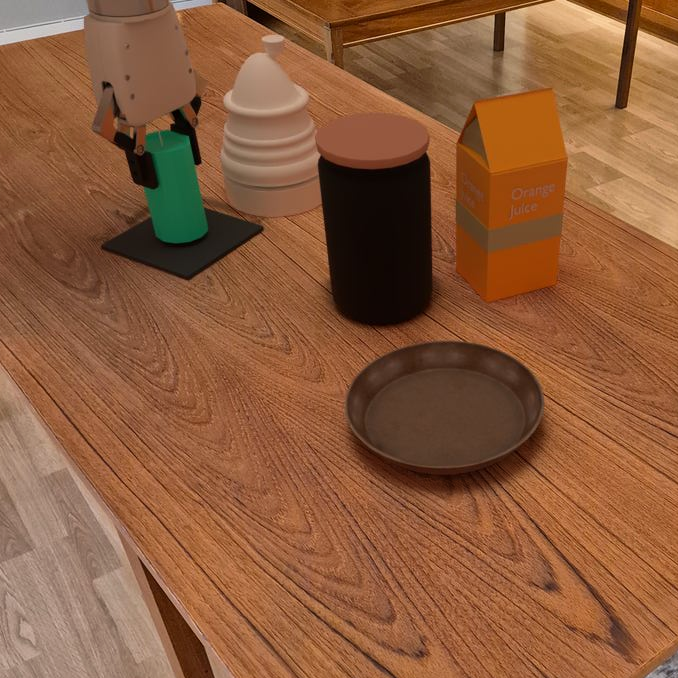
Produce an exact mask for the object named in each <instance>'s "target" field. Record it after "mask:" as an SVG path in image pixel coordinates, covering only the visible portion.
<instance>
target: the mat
mask: <svg viewBox="0 0 678 678" xmlns="http://www.w3.org/2000/svg"><path fill="white" fill-rule="evenodd" d="M204 211H205V215H206V220H207V225H208V231H207V232H206V233H205V234H204V235H203V236H202V237H201V238H198V239H196V240H193V241H191V242H184V243H170V242H164V241H162V240H161V239H159V238H158V237H156V234H155V230H154V226H153V222H152V218H151V216H149V217H147V218H145V219H144V220H141V221H140V222H139V223H137V224H135V225H133V226H131V227H130V228H128V229H126V230H124V231H123V232H121V233H119V234H118V235H116V236H114V237H112V238H111V239H108V240H107V241H105V242H103V243H102V244H101V245H100V247H101V250H103V251H106V252H109V253H112V254H115V255H118V256H120V257H123V258H126V259H129V260H131V261H134V262H137V263H140V264H142V265H145V266H148V267H151V268H154V269H156V270H159V271H161V272H164V273H168V274H171V275H172V276H175V277H179V278H181V279H184V280H187V281H190V280H192V278H194V277H195V276H198V274H200V273H201V272H203V271H205V270H206V269H208V268H209V267H210V266H212V265H214V264H215V263H217V262H218V261H220V260H221V259H223V258H224V257H226V256H227V255H228V254H230V253H232V252H233V251H234V250H236V249H238V248H239V247H241V246H242V245H243V244H246V243H247V242H248V241H250V240H252V239H253V238H255V237H256V236H258V235H259V234H261V233H263V231H265V226H263V225H261V224H257V223H254V222H252V221H248V220H246V219H242V218H239V217H236V216H232V215H229V214H227V213H223V212H220V211H217V210H214V209H210V208H208V207H205V206H204Z"/></svg>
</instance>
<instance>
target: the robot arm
mask: <svg viewBox="0 0 678 678" xmlns="http://www.w3.org/2000/svg"><path fill="white" fill-rule="evenodd" d="M86 4H87V8H88V13H89V14H86V15H85V16H83V34H84V36H83V37H84V45H85V55H86V61H87V66H88V72H89V74H90V75H89V77H90V81H91V86H92V91H93V95H94V98H95V102H96V106H97V110H96V113H95V115H94V118H93V122H92V124H91V130H92V132H93V133H95V134H96V135H98V136H100V137H101V138H103V139H105V140H106V141H108V142H109V143H111V144H113V145H114V146H115V147H117V148H118V149H119V150H120V151H124V154H125V159H126V161H127V166H128V168H129V173H130V176H131V179H132V182H133V183H134V184H135V185H137V186H140V187H143V188H144V187H146V188H150V189H153V190H154V189H156V188H158V185H159V183H158V179H157V175H156V171H155V167H154V163H153V159H152V155H151V153H150V152H147V151H145V142H146V134H147V125H148V124H149V123H151V122H154V121H156V120H158V119H160V118H161V117H164V116H166V115H168V116H170V118H171V120H172V121H173V122H171V123H169V126H170V128H169V130H171V131H174V132H176V133H179V134H183V135H186V136H189V140H190V144H191V149H192V154H193V159H194V163H195V167H196V166H197V167H198V166H201V164H203V161H202V156H201V150H200V145H199V141H198V136H197V132H196V128H197V127H198V126H199V124H200V120H199V118H198V116H199V113H200V110H201V106H202V99H203V96H204V94H205V92H206V88H207V86H208V82H207V79H206V78H205V77H204V76H202V75H201V74H200V73H199V72H198V71H196V70H195V69H194V67H193V63H192V58H191V55H190V50H189V47H188V45H187V44H188V43H187V40H186V37H185V33H184V31H183V28H182V25H181V22H180V19H179V16H178V13H177V11H176V9H175V7H174V4H173V3H172V1H170V0H86ZM115 119H117V124H116V125H117V128H116V127H115V125H114V123H115ZM131 128H132V129H133V130H132V137H131Z"/></svg>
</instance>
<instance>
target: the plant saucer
mask: <svg viewBox="0 0 678 678" xmlns="http://www.w3.org/2000/svg"><path fill="white" fill-rule="evenodd" d="M544 395H545V394H544V390H543V387H542V385H541V383H540V381H539V379H538V377H536V375H535V374H534V373H533V371H531V369H530V368H529V367H527V366H526V365H525V364H524V363H523V362H521V360H519V359H517V358H515V357H514V356H512V355H510V354H508V353H507V352H504V351H502V350H500V349H497V348H494V347H491V346H488V345H485V344H481V343H477V342H471V341H470V342H469V341H462V340H432V341H431V340H430V341H423V342H417V343H413V344H408V345H405V346H401V347H398V348H396V349H392V350H391V351H388V352H387V353H383V354H382V355H380V356H378V357H376V358H375V359H373V360H372V361H371V362H369V363H368V364H366V366H364V367H363V368H362V369H361V370H360V371H359V372H358V373H357V375H355V376H354V378H353V379H352V381H351V383H350V385H349V387H348V388H347V391H346V394H345V398H344V414H345V417H346V421H347V423H348V425H349V427H350V429H351V430H352V432H353V433H354V434H355V436H356V437H357V438H358V439H359V441H361V442H362V443H363V444H364V445H365V446H366V447H367V448H368V449H369V450H371V452H373V453H375V455H377V456H379V457H380V458H382V459H383V460H385V461H387V462H388V463H391V464H393V465H395V466H397V467H400V468H404V469H406V470H410V471H413V472H416V473H421V474H428V475H442V476H444V475H448V476H449V475H460V474H465V473H466V474H467V473H471V472H475V471H479V470H482V469H484V468H486V467H489V466H491V465H494V464H496V463H498V462H500V461H502V460H503V459H505V458H507V457H509V456H510V455H512V454H513V453H514V452H515V451H517V450H518V449H519V448H520V447H521V446H523V445H524V444H525V443H526V441H527V440H529V439H530V438H531V436H532V435H533V433H535V431H536V429H537V428H538V426H539V425H540V422H541V421H542V418H543V416H544V410H545V396H544Z"/></svg>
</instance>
